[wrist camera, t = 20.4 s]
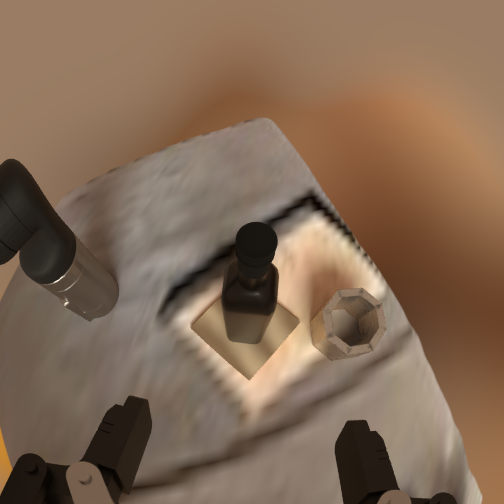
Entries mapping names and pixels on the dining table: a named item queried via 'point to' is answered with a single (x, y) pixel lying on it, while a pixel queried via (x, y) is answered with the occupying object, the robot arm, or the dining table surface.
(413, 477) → the dining table surface
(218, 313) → the oak board
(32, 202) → the robot arm
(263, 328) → the wine bottle
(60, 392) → the dining table surface
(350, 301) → the wooden sleeve
